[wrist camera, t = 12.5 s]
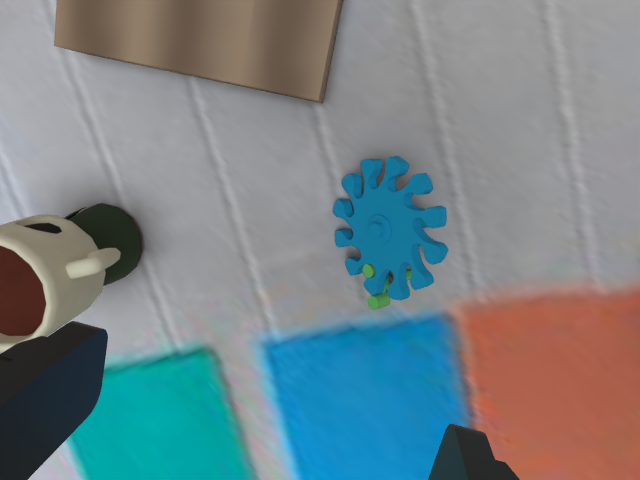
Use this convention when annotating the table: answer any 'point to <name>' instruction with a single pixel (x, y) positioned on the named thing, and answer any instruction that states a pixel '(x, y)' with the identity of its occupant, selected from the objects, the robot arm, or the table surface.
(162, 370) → the table surface
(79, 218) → the character mug
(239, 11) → the socket block
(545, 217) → the table surface
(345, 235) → the gear
